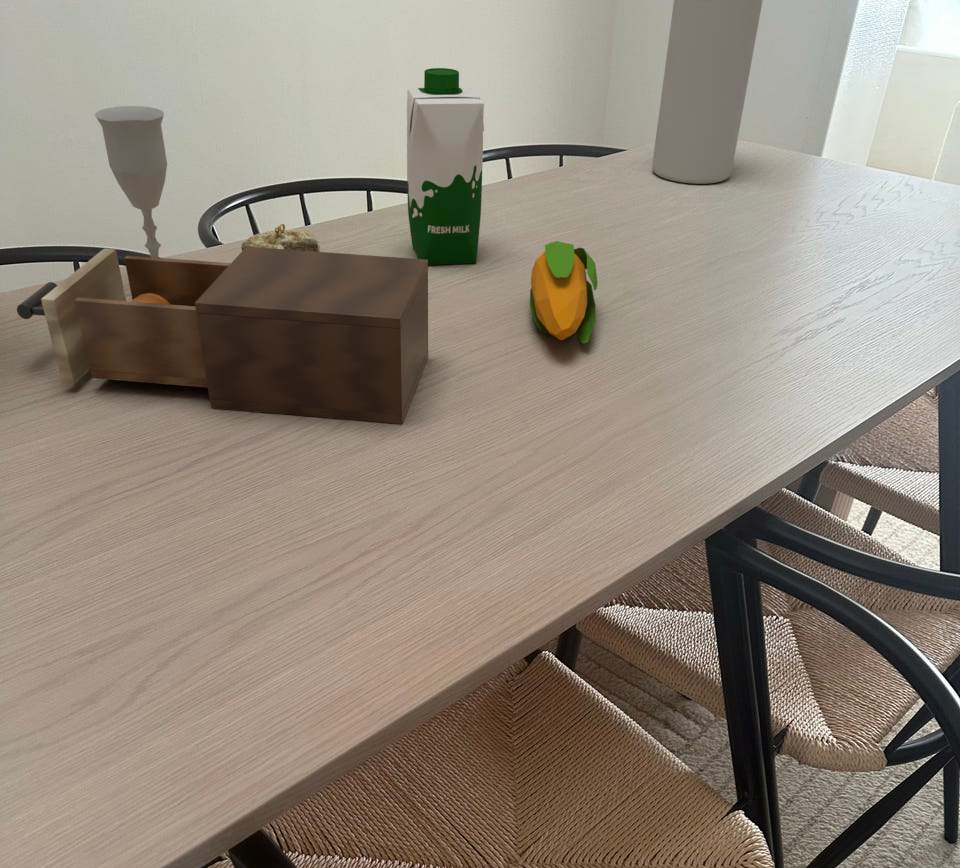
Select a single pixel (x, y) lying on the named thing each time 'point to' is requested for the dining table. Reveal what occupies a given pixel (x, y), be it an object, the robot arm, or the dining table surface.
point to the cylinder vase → (704, 88)
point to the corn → (563, 291)
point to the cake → (284, 240)
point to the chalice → (137, 159)
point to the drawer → (127, 319)
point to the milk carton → (444, 168)
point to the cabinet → (316, 334)
